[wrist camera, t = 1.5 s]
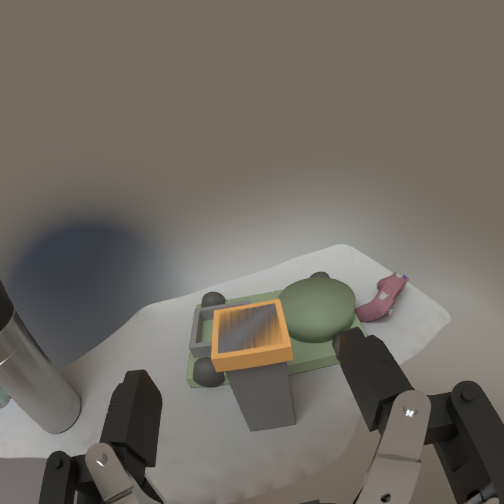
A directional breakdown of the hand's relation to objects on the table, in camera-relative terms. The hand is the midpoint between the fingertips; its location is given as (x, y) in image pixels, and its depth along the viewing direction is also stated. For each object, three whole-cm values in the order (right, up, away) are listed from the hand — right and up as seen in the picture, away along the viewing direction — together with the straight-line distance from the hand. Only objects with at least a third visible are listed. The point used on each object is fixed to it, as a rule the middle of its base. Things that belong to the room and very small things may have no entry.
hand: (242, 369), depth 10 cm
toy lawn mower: (+4, -7, +30) cm, 31 cm away
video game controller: (+21, -4, +30) cm, 37 cm away
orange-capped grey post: (+2, -14, +18) cm, 23 cm away
